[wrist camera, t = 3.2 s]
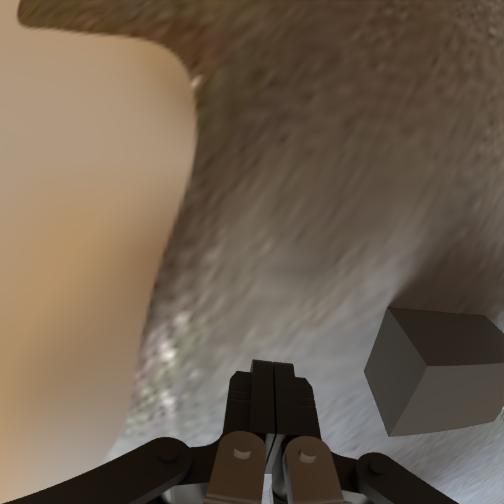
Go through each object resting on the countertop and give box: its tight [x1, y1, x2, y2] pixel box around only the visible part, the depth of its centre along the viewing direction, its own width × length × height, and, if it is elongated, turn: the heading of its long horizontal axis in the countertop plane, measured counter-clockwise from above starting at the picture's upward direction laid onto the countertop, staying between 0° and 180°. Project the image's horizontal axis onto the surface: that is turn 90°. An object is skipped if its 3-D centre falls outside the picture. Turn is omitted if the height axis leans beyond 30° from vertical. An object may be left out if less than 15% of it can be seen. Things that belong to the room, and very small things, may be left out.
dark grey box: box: [364, 307, 504, 437], centre depth 13 cm, size 7×4×5 cm, turn 82°
